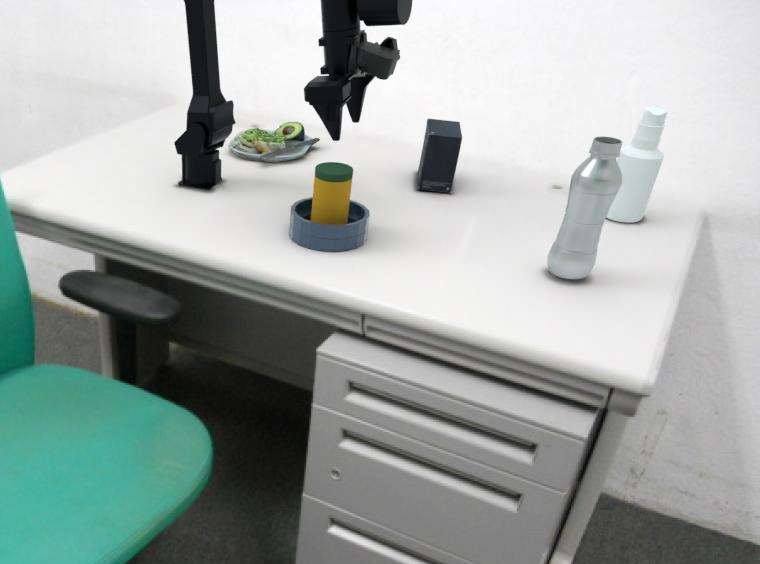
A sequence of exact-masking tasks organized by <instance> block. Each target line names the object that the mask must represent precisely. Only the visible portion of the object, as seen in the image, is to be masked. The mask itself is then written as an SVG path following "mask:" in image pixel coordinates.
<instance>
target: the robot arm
mask: <svg viewBox="0 0 760 564" xmlns="http://www.w3.org/2000/svg"><path fill="white" fill-rule="evenodd" d="M183 3H184V8H185V9H184V10H185V17H186V18H185V20H186V31H187V32H186V33H187V43H188V52H189V53H188V54H189V62H190V63H189V66H190V76H191V77H190V78H191V86H192V87H191V88H192V95H191V99H190V102H189V105H188V109H187V111H186V130H185V131H184V132H183V133H181V135H180V136H179V137H178V138H176V140H175V141H174V142H173V143H174V147H175V151H176V154H177V155H180V156H181V180H180V181H178V182H177V185H178V186H179V187H186V188H190V189H191V188H192V189H196V190H203V191H211V190H212V189H214V188H215V187H216V186H217V185H218V184H220V183H221V182H222V181H223V177H222V158H220V148H223V147H224V145H225V143H226V142H225V141H226V139H228V138H229V136H230V135H231V134H232V133H233V128H234V126H233V125H236V120H235V117H234V107H235V106H234V105H235V104H234V101H233V99H231V100H227V99H226V98H225V96H224V94H223V93H222V90H221V79H220V64H219V51H218V38H217V22H216V21H217V20H216V7H215V0H183ZM412 9H413V0H320V13H321V31H322V36H321V37H320V38H318V47H323V57H324V58H323V60H324V61H323V63H324V64H323V65H322V66H320V67H319V69H320V75H316V76H315V77H313V78H312V79H311V80H310V81H309V82H307V84H306V85H305V86H304V87H303V95H304V96H303V97H304V102H306V103H308V105H309V106H311V107H312V108H313V109H314V111H315V112H316V114H317V116H318V117H319V119H320V120H321V122H322V124H323V125H324V128H325V129H326V131H327V133H328V135H329V136H330V138H331V140H332V141H333V142H339V141H340V140H341V136H342V135H341V134H342V124H343V123H342V122H343V111H344V110H343V109H344V106H345V105H346V109H347V111H348V114H349V117H350V120H351V122H352V123H353V124H358V123H360V121H361V116H362V112H363V106H364V101H365V97H366V94H367V90H368V86H369V85H370V83H372V82H373V80H374V79H375V78H377V79H379V80H382V81H383V80H384V81H386V80H388V79H389V78H390V77H391V76H393V75H394V73H395V69H396V67H397V64H398V61H400V60H401V55H400V54H401V53H400V52H401V50H400V49H399V48H398V47H399V46H398V40H397V38H394V37H392V36H387V37H385V38H384V39H383V40H382V42H380V43H379V42H378V41H376V42H371V41H368V33H367V32H366V30H365V29H361V22H363V24H364V25H365V26H366V27H383V26H384V27H387V26H404V25H406V24H407V23H408V22H409V20H410V17H411V13H412Z"/></svg>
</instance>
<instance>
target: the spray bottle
mask: <svg viewBox="0 0 760 564" xmlns="http://www.w3.org/2000/svg"><path fill="white" fill-rule="evenodd" d="M668 113H669V111H668V109H665V108H662V107H657V106H646V107H644V110H643V112H642V115H641V118H640V120H638V122H637V126H636V129H635V133H634V134H633V137H632V140H631V143H629V144H627V145H624V146H623V147H621V150H620V152H621V153H620V156H619V157H617V158H616V161H617V163H618V165H619V167H620V170H621V173H622V184H621V186H620V189H619V190H618V193H617V195H616V197H615V199H614V201H613V203H612V205H611V207H610V209H609V211H608V214H607V217H606V218H605V219H609V220H611V221H614V222H619V223H638V222H640V221H641V220H642V219H643V217H644V215H645V212H646V209H647V206H648V204H649V201H650V197H651V194H652V192H653V189H654V186H655V184H656V181H657V177H658V174H659V172H660V169H661V168H662V167H661V166H662V163H663V161H664V156H665V155H664V153H663V152H662V151H661V150H660V148H658V147H659V144H660V141H661V137H662V135H663V131H664V128H665V120H666V119H667V115H668Z"/></svg>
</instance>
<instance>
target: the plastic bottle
mask: <svg viewBox="0 0 760 564" xmlns="http://www.w3.org/2000/svg"><path fill="white" fill-rule="evenodd" d="M622 146H623V140H621V139H620V138H616V137H611V136H595V137H594V138H593V140H592V143H591V147H590V148H589V149H588V153H589V154H590V155H589V156H588V157H587V158H586V159H585V160H583V161H582V162H581V163H580V164H579V165H578V166H577V167H576V168H575V170H574V171H573V173H572V175H571V178H570V184H569V188H568V189H569V191H568V197H567V203H566V208H565V211H564V212H565V213H564V216H563V220H562V222H561V225H560V226H559V227H560V228H559V230H558V233H557V235H556V238H555V240H554V241H553V243H552V245H551V247H550V249H549V251H548V253H547V257H546V266H547V270H548V272H550V274H552V275H553V276H556V277H559V278H561V279H566V280H581V279H584V278H586V277H587V276H588V275H590V274H591V272H592V271H593V269H594V267H595V265H596V262H597V257H598V247H599V243H600V238H601V234H602V231H603V230H602V229H603V227H604V225H605V221H606V219H607V218H606V217H607V214H608V211H609V209H610V207H611V205H612V203H613V201H614V199H615V197H616V195H617V193H618V190H619V189H620V186H621V184H622V173H621V170H620V167H619V165H618V163H617V158H618V157H619V156H620V153H621V152H620V150H621V148H623V147H622Z"/></svg>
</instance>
